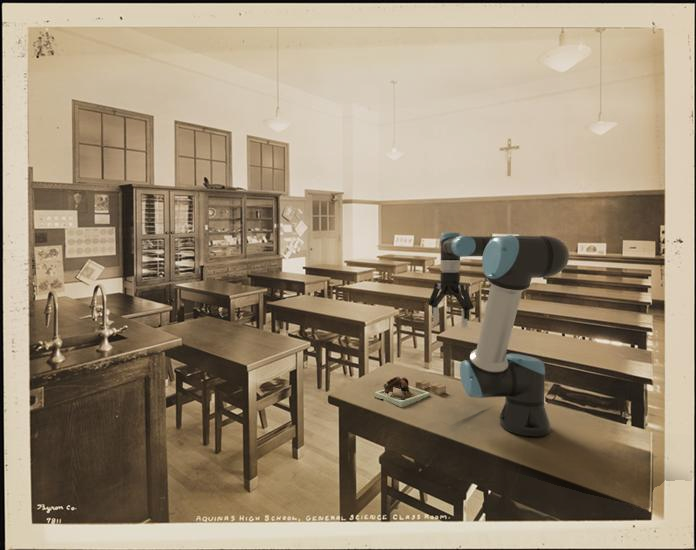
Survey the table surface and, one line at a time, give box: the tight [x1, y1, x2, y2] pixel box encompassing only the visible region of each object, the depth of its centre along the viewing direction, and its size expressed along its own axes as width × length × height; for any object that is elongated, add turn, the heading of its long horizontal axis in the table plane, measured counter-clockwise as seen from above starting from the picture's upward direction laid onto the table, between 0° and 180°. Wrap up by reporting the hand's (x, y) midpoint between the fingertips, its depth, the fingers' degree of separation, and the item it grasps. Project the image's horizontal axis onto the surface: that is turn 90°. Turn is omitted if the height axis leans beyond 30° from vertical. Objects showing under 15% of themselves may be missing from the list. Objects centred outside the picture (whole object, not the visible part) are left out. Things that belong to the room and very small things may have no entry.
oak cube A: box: [430, 383, 447, 396], centre depth 159 cm, size 4×4×4 cm
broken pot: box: [383, 376, 412, 399], centre depth 156 cm, size 12×9×8 cm
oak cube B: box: [415, 379, 431, 390], centre depth 163 cm, size 4×4×4 cm
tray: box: [373, 385, 431, 408], centre depth 156 cm, size 14×16×2 cm
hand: (449, 325), depth 162 cm, fingers open, 13 cm apart
